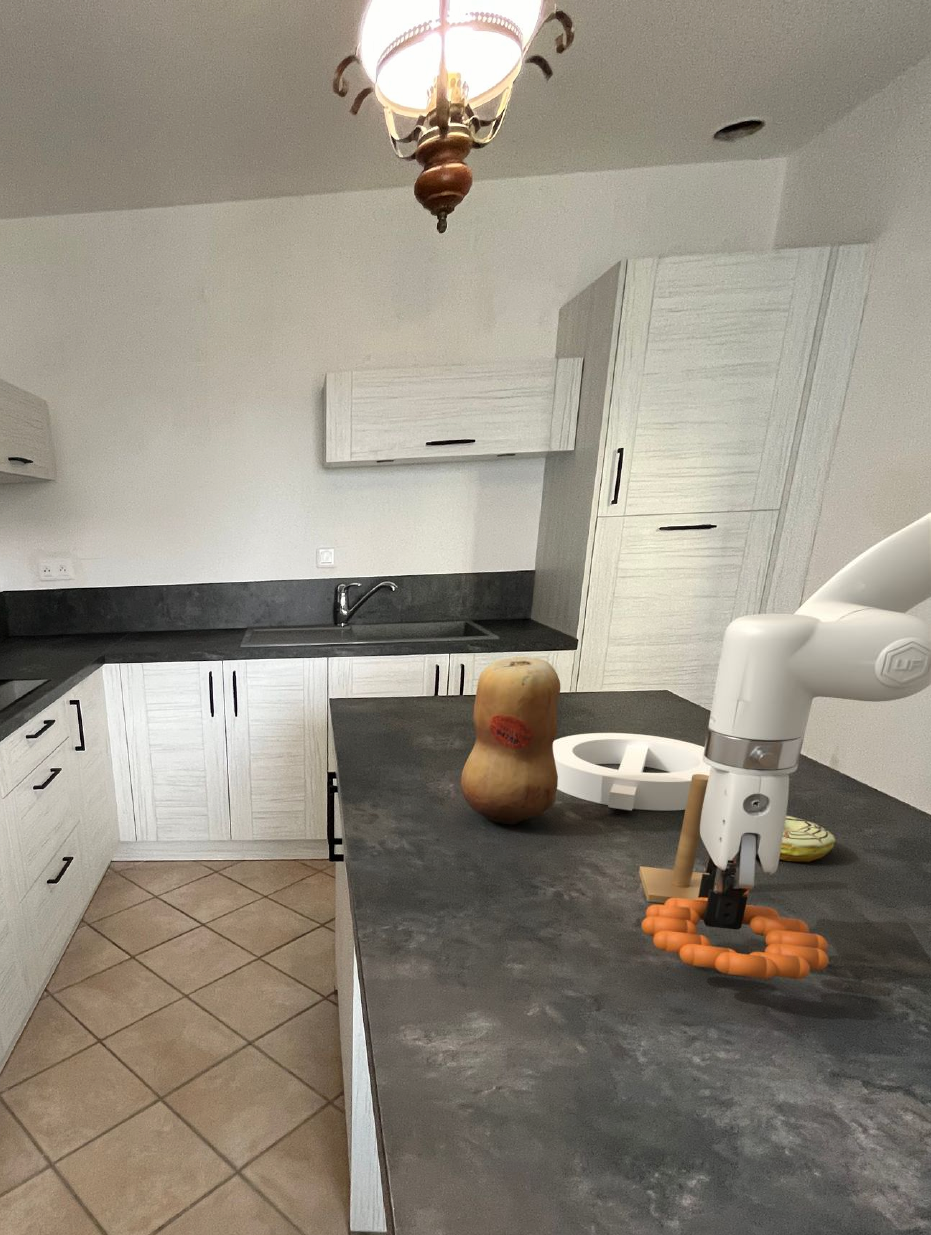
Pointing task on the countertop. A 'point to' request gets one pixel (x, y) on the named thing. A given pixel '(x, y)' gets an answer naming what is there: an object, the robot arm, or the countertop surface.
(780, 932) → the ring
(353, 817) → the countertop surface
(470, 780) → the butternut squash
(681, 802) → the white circle with bar
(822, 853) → the decorated donut
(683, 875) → the post
